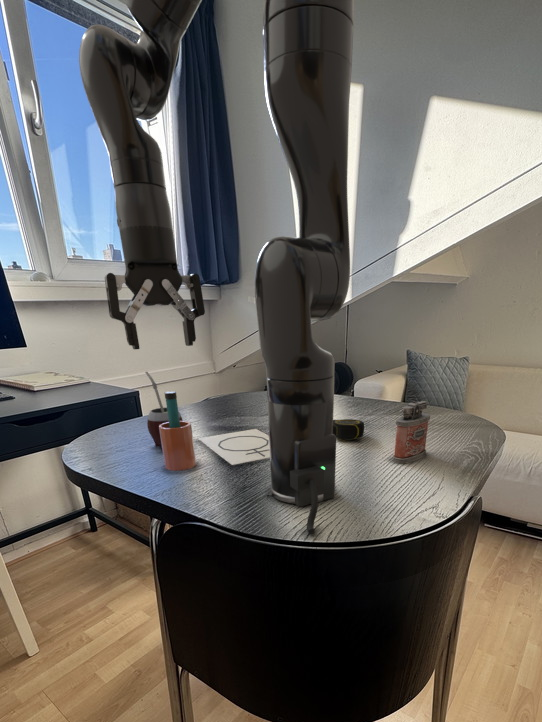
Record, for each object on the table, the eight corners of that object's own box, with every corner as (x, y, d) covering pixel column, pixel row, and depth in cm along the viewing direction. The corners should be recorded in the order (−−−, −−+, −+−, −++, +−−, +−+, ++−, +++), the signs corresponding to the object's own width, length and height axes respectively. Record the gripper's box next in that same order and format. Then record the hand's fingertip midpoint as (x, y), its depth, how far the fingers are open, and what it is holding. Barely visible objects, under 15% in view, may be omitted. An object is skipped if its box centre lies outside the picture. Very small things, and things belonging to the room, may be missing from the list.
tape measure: (361, 433, 91) (362, 417, 89) (365, 442, 85) (366, 425, 83) (330, 434, 91) (330, 417, 90) (332, 443, 85) (332, 425, 83)
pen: (187, 465, 74) (177, 392, 69) (176, 467, 73) (165, 393, 68) (184, 462, 76) (174, 390, 70) (173, 464, 75) (163, 392, 69)
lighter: (404, 464, 72) (409, 408, 68) (388, 460, 75) (392, 405, 70) (429, 454, 77) (436, 400, 73) (414, 450, 79) (419, 398, 75)
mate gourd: (178, 454, 82) (167, 376, 75) (141, 453, 83) (128, 376, 77) (191, 443, 88) (182, 371, 82) (157, 442, 90) (146, 371, 83)
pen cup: (199, 469, 73) (194, 425, 70) (170, 475, 71) (163, 430, 68) (191, 460, 78) (185, 419, 74) (162, 466, 76) (155, 423, 72)
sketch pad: (299, 453, 80) (299, 450, 79) (232, 467, 74) (231, 464, 73) (255, 430, 96) (255, 428, 95) (198, 440, 90) (197, 437, 90)
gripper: (96, 220, 53) (121, 352, 60) (201, 225, 59) (213, 345, 66) (90, 230, 59) (113, 349, 66) (186, 235, 65) (199, 343, 72)
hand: (163, 347), depth 66 cm, fingers open, 8 cm apart
